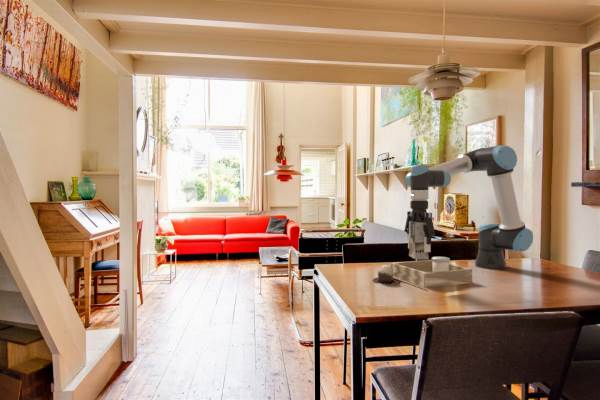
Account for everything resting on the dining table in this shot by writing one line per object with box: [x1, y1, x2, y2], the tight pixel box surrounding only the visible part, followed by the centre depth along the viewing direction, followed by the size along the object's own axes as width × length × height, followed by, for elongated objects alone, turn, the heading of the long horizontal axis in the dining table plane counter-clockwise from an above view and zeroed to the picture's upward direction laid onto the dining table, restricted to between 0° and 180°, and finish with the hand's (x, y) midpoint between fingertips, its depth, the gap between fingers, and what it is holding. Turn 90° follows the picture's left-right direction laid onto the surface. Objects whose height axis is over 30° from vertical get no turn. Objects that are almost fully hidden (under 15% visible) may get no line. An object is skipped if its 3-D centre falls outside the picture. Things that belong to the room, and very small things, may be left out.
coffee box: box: [408, 221, 430, 260], centre depth 163 cm, size 9×6×16 cm
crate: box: [390, 259, 473, 291], centre depth 166 cm, size 24×24×7 cm
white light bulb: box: [431, 256, 451, 272], centre depth 168 cm, size 8×8×9 cm
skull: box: [372, 264, 401, 286], centre depth 166 cm, size 12×10×10 cm
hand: (418, 250), depth 163 cm, fingers closed on coffee box, 10 cm apart
